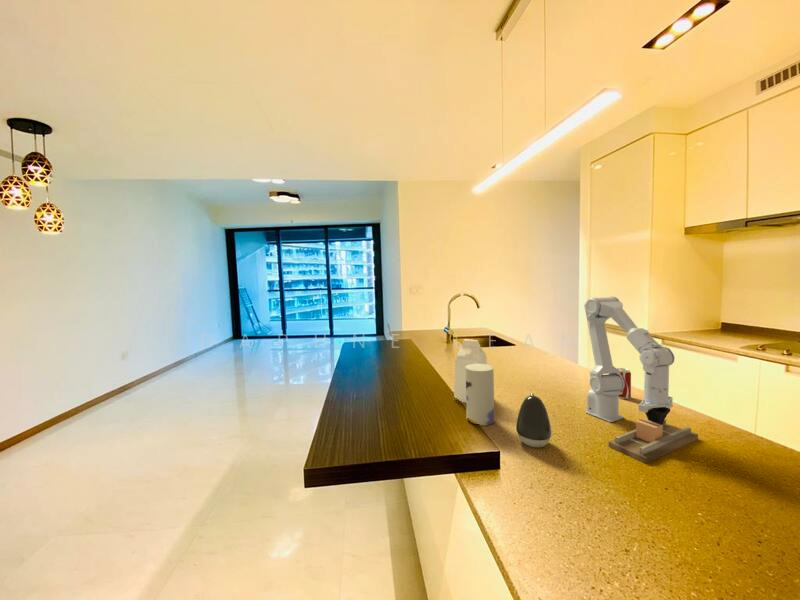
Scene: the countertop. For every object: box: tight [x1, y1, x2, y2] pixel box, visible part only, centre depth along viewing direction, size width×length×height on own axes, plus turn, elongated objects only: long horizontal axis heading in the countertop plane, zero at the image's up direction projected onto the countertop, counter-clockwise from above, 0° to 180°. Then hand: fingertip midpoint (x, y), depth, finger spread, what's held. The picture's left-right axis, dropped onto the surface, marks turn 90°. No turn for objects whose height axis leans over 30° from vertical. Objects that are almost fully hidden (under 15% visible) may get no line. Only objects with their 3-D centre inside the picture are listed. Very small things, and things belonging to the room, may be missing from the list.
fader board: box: [608, 418, 699, 464], centre depth 95 cm, size 10×28×3 cm, turn 115°
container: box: [465, 363, 495, 426], centre depth 115 cm, size 10×10×20 cm
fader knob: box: [635, 418, 663, 443], centre depth 94 cm, size 5×4×5 cm
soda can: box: [616, 367, 632, 400], centre depth 131 cm, size 5×5×12 cm
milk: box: [453, 338, 488, 403], centre depth 135 cm, size 12×12×26 cm
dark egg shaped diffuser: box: [515, 392, 552, 448], centre depth 97 cm, size 10×10×15 cm
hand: (655, 429), depth 96 cm, fingers closed
